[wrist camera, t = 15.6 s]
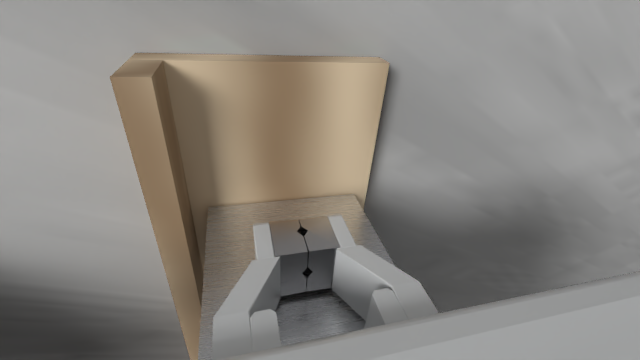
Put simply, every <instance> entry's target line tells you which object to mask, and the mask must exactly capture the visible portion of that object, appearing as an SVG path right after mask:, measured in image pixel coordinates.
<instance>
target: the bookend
mask: <svg viewBox="0 0 640 360" xmlns="http://www.w3.org/2000/svg"><path fill="white" fill-rule="evenodd" d="M334 214H341V215H342V217H343V219H344V221H345V223H346V225H347V227H348V229H349V231H350V233H351V235H352V237H353V239H354V241H355V243H356V245H362V246H363V247H365V248H366V249H368V250H370V251H371V252H373V253H374V254H376V255H378V256H379V257H381V258H382V259H384V260H386V261H387V262H389V263H390V264H392V265H394V263H393V261H392V260H391V258H390V256H389V254H388V253H387V251H386V249H385V247H384V246H383V244H382V242H381V240H380V239H379V237H378V235H377V233H376V232H375V230H374V228H373V227H372V225H371V223H370V221H369V220H368V218H367V216H366V214H365V213H364V211H363V209H362V207H361V206H360V204H359V202H358V200H357V199H356V197H355V195H354V194H348V195H337V196H326V197H315V198H304V199H293V200H283V201H272V202H261V203H250V204H239V205H228V206H218V207H208V219H207V233H206V248H205V263H204V277H203V292H202V307H201V321H200V336H199V351H198V360H212V336H213V317H214V316H215V314H216V313H217V311H218V310H219V309H220V307H221V306H222V304H223V303H224V301H225V300H226V298H227V297H228V295H229V294H230V292H231V291H232V289H233V288H234V286H235V285H236V283H237V282H238V281H239V279H240V278H241V276H242V275H243V273H244V272H245V270H246V269H247V267H248V266H249V264H250V263H251V261H252V260H255V250H254V234H253V224H256V223H266V222H268V223H269V222H274V221H285V220H296V219H305V218H313V217H322V216H327V215H334ZM394 266H395V265H394ZM395 267H396V266H395ZM275 312H276V315H277V321H278V327H279V333H280V340H281V346H285V345H290V344H294V343H299V342H304V341H309V340H313V339H318V338H323V337H328V336H333V335H337V334H342V333H347V332H352V331H357V330H361V329H364V327H365V323H366V321H365V320H364V319H363V318H362V317H361V316H360V315H359V314H357V313H356V312H355V311H354V310H353V309H352V308H351V307H350V306H349V305H348V304H347V303H346V302H345V301H344V300H343V299H342V298H340V297H339V296H338V295H337V294H336V293H335V292H334V291H333V290H332V288H327V289H320V290H313V291H307V290H306V292H301V293H296V294H291V295H286V296H281V299H280V301H279V303H278V305H277V308H276V310H275Z"/></svg>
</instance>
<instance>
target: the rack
mask: <svg viewBox="0 0 640 360" xmlns="http://www.w3.org/2000/svg"><path fill="white" fill-rule="evenodd" d="M389 64H390V63H388V62H387V61H385V60H383V59H381V58H380V57H333V56H279V55H224V54H169V53H135V54H134V55H133V56H132V57H131V58H130V59H129V60H127V61H126V62H125V63H124V64H123V65H122V66H121V67H120V68H119V69H118V70H117V71H116V72H115V73H114V74H113V75H112V76H110V79H111V83H112V86H113V90H114V93H115V97H116V100H117V104H118V107H119V111H120V114H121V118H122V121H123V125H124V128H125V132H126V135H127V139H128V142H129V146H130V149H131V153H132V157H133V160H134V164H135V167H136V171H137V174H138V178H139V181H140V185H141V188H142V192H143V195H144V199H145V202H146V206H147V209H148V213H149V216H150V220H151V223H152V227H153V230H154V234H155V237H156V241H157V244H158V248H159V251H160V255H161V258H162V262H163V265H164V269H165V272H166V276H167V279H168V283H169V286H170V290H171V293H172V297H173V300H174V304H175V307H176V311H177V314H178V318H179V321H180V325H181V329H182V332H183V336H184V339H185V343H186V346H187V350H188V353H189V357H190V360H198V351H199V336H200V321H201V307H202V292H203V277H204V263H205V248H206V233H207V219H208V207H218V206H228V205H239V204H250V203H261V202H272V201H283V200H293V199H304V198H315V197H326V196H337V195H348V194H354V195H355V197H356V199H357V200H358V202H359V204H360V206H361V207H362V209H364V203H365V198H366V192H367V187H368V181H369V176H370V170H371V164H372V159H373V153H374V148H375V142H376V136H377V131H378V125H379V120H380V114H381V108H382V103H383V97H384V92H385V86H386V80H387V75H388V69H389Z"/></svg>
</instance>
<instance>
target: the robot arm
mask: <svg viewBox="0 0 640 360" xmlns="http://www.w3.org/2000/svg"><path fill="white" fill-rule="evenodd" d="M253 234H254V250H255V260H252V261H251V263H250V264H249V266H248V267H247V269H246V270H245V272H244V273H243V275H242V276H241V278H240V279H239V281H238V282H237V283H236V285H235V286H234V288H233V289H232V291H231V292H230V294H229V295H228V297H227V298H226V300H225V301H224V303H223V304H222V306H221V307H220V309H219V310H218V311H217V313H216V314H215V316H214V317H213V336H212V360H640V271H637V272H633V273H628V274H623V275H619V276H614V277H609V278H604V279H600V280H595V281H590V282H585V283H581V284H576V285H571V286H566V287H562V288H557V289H552V290H547V291H542V292H538V293H533V294H528V295H523V296H519V297H514V298H509V299H504V300H499V301H495V302H490V303H485V304H480V305H475V306H471V307H466V308H461V309H456V310H452V311H447V312H442V313H439V312H438V311H437V309H436V307H435V306H434V304H433V303H432V301H431V299H430V298H429V296H428V295H427V293H426V291H425V290H424V288H423V287H422V285H421V283H420V282H419V281H418V280H416V279H414V278H413V277H411V276H410V275H408V274H406V273H405V272H403V271H402V270H400V269H398V268H397V267H395V266H394V265H392V264H390V263H389V262H387V261H386V260H384V259H382V258H381V257H379V256H378V255H376V254H374V253H373V252H371V251H370V250H368V249H366V248H365V247H363V246H362V245H356V243H355V241H354V239H353V237H352V235H351V233H350V231H349V229H348V227H347V225H346V223H345V221H344V219H343V217H342V215H341V214H334V215H327V216H322V217H313V218H305V219H296V220H285V221H274V222H269V223H268V222H266V223H256V224H253ZM327 288H332V290H333V291H334V292H335V293H336V294H337V295H338V296H339V297H340V298H342V299H343V300H344V301H345V302H346V303H347V304H348V305H349V306H350V307H351V308H352V309H353V310H354V311H355V312H356V313H357V314H359V315H360V316H361V317H362V318H363V319H364V320H365V321H366V323H365V327H364V329H361V330H357V331H352V332H347V333H342V334H337V335H333V336H328V337H323V338H318V339H313V340H309V341H304V342H299V343H294V344H290V345H285V346H281V340H280V333H279V327H278V321H277V315H276V312H275V310H276V308H277V305H278V303H279V301H280V299H281V296H286V295H291V294H296V293H301V292H306V290H307V291H313V290H320V289H327Z"/></svg>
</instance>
